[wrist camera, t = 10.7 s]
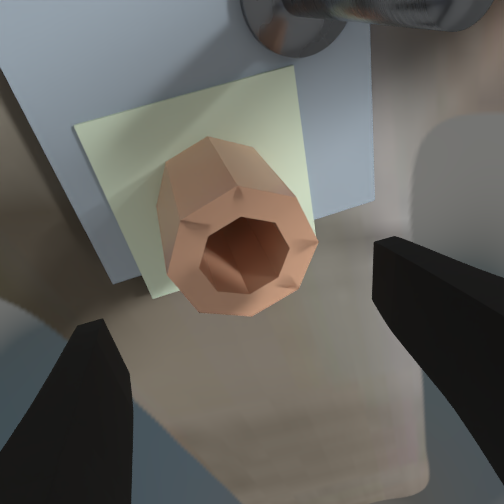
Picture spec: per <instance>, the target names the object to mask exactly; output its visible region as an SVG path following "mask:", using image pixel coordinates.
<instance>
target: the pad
mask: <svg viewBox="0 0 504 504" xmlns="http://www.w3.org/2000/svg"><path fill="white" fill-rule="evenodd" d="M74 128H75V130H76V132H77V135H78V137H79V139H80V141H81V143H82V146H83V148H84V150H85V152H86V154H87V156H88V159H89V161H90V163H91V165H92V167H93V170H94V172H95V174H96V176H97V178H98V181H99V183H100V185H101V187H102V189H103V191H104V194H105V196H106V198H107V200H108V202H109V205H110V207H111V209H112V211H113V213H114V216H115V218H116V220H117V222H118V224H119V226H120V229H121V231H122V233H123V235H124V237H125V240H126V242H127V244H128V246H129V248H130V250H131V253H132V255H133V257H134V259H135V261H136V264H137V266H138V268H139V270H140V272H141V275H142V277H143V279H144V281H145V283H146V285H147V288H148V290H149V292H150V294H151V296H152V299H155V298H158V297H161V296H164V295H167V294H170V293H173V292H176V291H179V289H178V287H177V286H176V285H175V284H174V283H173V282H172V280H171V279H170V278H169V277H168V276H167V273H166V267H165V260H164V254H163V247H162V240H161V234H160V227H159V221H158V214H157V208H156V205H157V200H158V196H159V191H160V186H161V181H162V177H163V172H164V167H165V162H166V161H168V160H169V159H171V158H173V157H174V156H176V155H178V154H179V153H181V152H182V151H184V150H186V149H187V148H189V147H191V146H192V145H194V144H195V143H197V142H199V141H200V140H202V139H204V138H205V137H207V136H209V137H213V138H217V139H221V140H226V141H230V142H234V143H238V144H242V145H246V146H250V147H253V148H254V149H255V150H256V151H257V152H258V153H259V155H260V156H261V157H262V158H263V159H264V160H265V161H266V163H267V164H268V165H269V166H270V167H271V168H272V170H273V171H274V172H275V173H276V174H277V175H278V176H279V178H280V179H281V180H282V181H283V182H284V183H285V184H286V186H287V187H288V188H289V189H290V190H291V191H292V192H293V194H294V195H295V196H296V197H297V199H298V201H299V203H300V205H301V208H302V210H303V212H304V214H305V216H306V218H307V220H308V222H309V224H310V226H311V228H312V230H313V232H314V234H315V236H316V233H315V226H314V218H313V210H312V202H311V195H310V187H309V179H308V172H307V164H306V156H305V148H304V141H303V133H302V125H301V117H300V110H299V102H298V94H297V86H296V79H295V71H294V65H289V66H285V67H282V68H278V69H275V70H271V71H267V72H264V73H260V74H256V75H253V76H249V77H245V78H242V79H238V80H235V81H231V82H227V83H224V84H220V85H216V86H213V87H209V88H205V89H202V90H198V91H195V92H191V93H187V94H184V95H180V96H176V97H173V98H169V99H166V100H162V101H158V102H155V103H151V104H147V105H144V106H140V107H136V108H133V109H129V110H126V111H122V112H118V113H115V114H111V115H107V116H104V117H100V118H96V119H93V120H89V121H86V122H82V123H78V124H75V125H74Z"/></svg>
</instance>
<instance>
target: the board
mask: <svg viewBox="0 0 504 504" xmlns="http://www.w3.org/2000/svg"><path fill="white" fill-rule="evenodd" d="M289 65H294V71H295V79H296V86H297V94H298V102H299V110H300V117H301V125H302V133H303V141H304V148H305V156H306V164H307V172H308V179H309V187H310V195H311V202H312V210H313V218H314V220H315V219H318V218H321V217H324V216H327V215H331V214H334V213H337V212H340V211H343V210H346V209H349V208H352V207H355V206H359V205H362V204H365V203H368V202H371V201H374V200H375V190H374V153H373V116H372V79H371V42H370V24H368V23H357V22H347V23H346V25H345V27H344V29H343V30H342V32H341V33H340V34H339V36H338V37H337V38H336V39H335V40H334V41H333V42H332V43H331V44H330V45H329V46H328V47H326V48H325V49H323V50H322V51H320V52H318V53H316V54H314V55H311V56H308V57H303V58H290V57H285V56H282V55H279V54H276V53H274V52H272V51H270V50H268V49H266V48H265V47H264V46H262V45H261V44H260V43H259V42H258V41H257V40H256V39H255V37H254V36H253V35H252V33H251V32H250V30H249V28H248V27H247V25H246V23H245V20H244V17H243V14H242V10H241V6H240V0H0V68H1V70H2V71H3V73H4V75H5V77H6V79H7V81H8V83H9V85H10V87H11V89H12V91H13V93H14V95H15V97H16V98H17V100H18V102H19V104H20V106H21V108H22V110H23V112H24V114H25V116H26V118H27V120H28V122H29V123H30V125H31V127H32V129H33V131H34V133H35V135H36V137H37V139H38V141H39V143H40V145H41V147H42V149H43V150H44V152H45V154H46V156H47V158H48V160H49V162H50V164H51V166H52V168H53V170H54V172H55V174H56V176H57V177H58V179H59V181H60V183H61V185H62V187H63V189H64V191H65V193H66V195H67V197H68V199H69V201H70V203H71V204H72V206H73V208H74V210H75V212H76V214H77V216H78V218H79V220H80V222H81V224H82V226H83V228H84V229H85V231H86V233H87V235H88V237H89V239H90V241H91V243H92V245H93V247H94V249H95V251H96V253H97V255H98V256H99V258H100V260H101V262H102V264H103V266H104V268H105V270H106V272H107V274H108V276H109V278H110V280H111V282H112V283H113V284H116V283H119V282H122V281H125V280H128V279H131V278H135V277H138V276H141V272H140V270H139V268H138V266H137V264H136V261H135V259H134V257H133V255H132V253H131V250H130V248H129V246H128V244H127V242H126V240H125V237H124V235H123V233H122V231H121V229H120V226H119V224H118V222H117V220H116V218H115V216H114V213H113V211H112V209H111V207H110V205H109V202H108V200H107V198H106V196H105V194H104V191H103V189H102V187H101V185H100V183H99V181H98V178H97V176H96V174H95V172H94V170H93V167H92V165H91V163H90V161H89V159H88V156H87V154H86V152H85V150H84V148H83V146H82V143H81V141H80V139H79V137H78V135H77V132H76V130H75V128H74V125H75V124H78V123H82V122H86V121H89V120H93V119H96V118H100V117H104V116H107V115H111V114H115V113H118V112H122V111H126V110H129V109H133V108H136V107H140V106H144V105H147V104H151V103H155V102H158V101H162V100H166V99H169V98H173V97H176V96H180V95H184V94H187V93H191V92H195V91H198V90H202V89H205V88H209V87H213V86H216V85H220V84H224V83H227V82H231V81H235V80H238V79H242V78H245V77H249V76H253V75H256V74H260V73H264V72H267V71H271V70H275V69H278V68H282V67H285V66H289Z"/></svg>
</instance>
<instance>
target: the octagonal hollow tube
mask: <svg viewBox="0 0 504 504" xmlns="http://www.w3.org/2000/svg"><path fill="white" fill-rule="evenodd" d="M156 208H157V214H158V221H159V227H160V234H161V240H162V247H163V254H164V260H165V267H166V273H167V276H168V277H169V278H170V279H171V280H172V282H173V283H174V284H175V285H176V286H177V287H178V289H179V290H180V291H181V292H182V293H183V294H184V295H185V297H186V298H187V299H188V300H189V301H190V302H191V304H192V305H193V306H194V307H195V308H196V309H197V311H198V312H199V313H211V314H225V315H239V316H251V317H252V316H253V315H255V314H257V313H258V312H260V311H262V310H264V309H265V308H267V307H269V306H270V305H272V304H274V303H275V302H277V301H279V300H281V299H282V298H284V297H286V296H287V295H289V294H291V293H293V292H294V291H296V290H298V289H299V287H300V284H301V282H302V280H303V277H304V275H305V273H306V270H307V268H308V266H309V263H310V261H311V259H312V256H313V254H314V252H315V249H316V247H317V245H318V242H319V241H318V240H317V238H316V236H315V234H314V232H313V230H312V228H311V226H310V224H309V222H308V220H307V218H306V216H305V214H304V212H303V210H302V208H301V205H300V203H299V201H298V199H297V197H296V196H295V195H294V194H293V192H292V191H291V190H290V189H289V188H288V187H287V186H286V184H285V183H284V182H283V181H282V180H281V179H280V178H279V176H278V175H277V174H276V173H275V172H274V171H273V170H272V168H271V167H270V166H269V165H268V164H267V163H266V161H265V160H264V159H263V158H262V157H261V156H260V155H259V153H258V152H257V151H256V150H255V149H254V148H253V147H250V146H246V145H242V144H238V143H234V142H230V141H226V140H221V139H217V138H213V137H209V136H207V137H205V138H204V139H202V140H200V141H199V142H197V143H195V144H194V145H192V146H191V147H189V148H187V149H186V150H184V151H182V152H181V153H179V154H178V155H176V156H174V157H173V158H171V159H169V160H168V161H166V162H165V167H164V172H163V177H162V181H161V186H160V191H159V196H158V200H157V205H156Z"/></svg>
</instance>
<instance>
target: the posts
mask: <svg viewBox="0 0 504 504" xmlns="http://www.w3.org/2000/svg"><path fill="white" fill-rule="evenodd" d="M493 1H494V0H240V6H241V10H242V14H243V17H244V20H245V23H246V25H247V27H248V28H249V30H250V32H251V33H252V35H253V36H254V37H255V39H256V40H257V41H258V42H259V43H260V44H261V45H262V46H264V47H265V48H266V49H268V50H270V51H272V52H274V53H276V54H279V55H282V56H285V57H290V58H303V57H308V56H311V55H314V54H316V53H318V52H320V51H322V50H323V49H325V48H326V47H328V46H329V45H330V44H331V43H332V42H333V41H334V40H335V39H336V38H337V37H338V36H339V34H340V33H341V32H342V30H343V29H344V27H345V25H346V23H347V22H357V23H368V24H378V25H388V26H399V27H409V28H419V29H429V30H440V31H450V32H457V31H461V30H464V29H467V28H468V27H470V26H472V25H473V24H475V23H476V22H477V21H478V20H479V19H480V18H481V17H482V16H483V15H484V14H485V13H486V12H487V10H488V9H489V7H490V6H491V4H492V2H493Z"/></svg>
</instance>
